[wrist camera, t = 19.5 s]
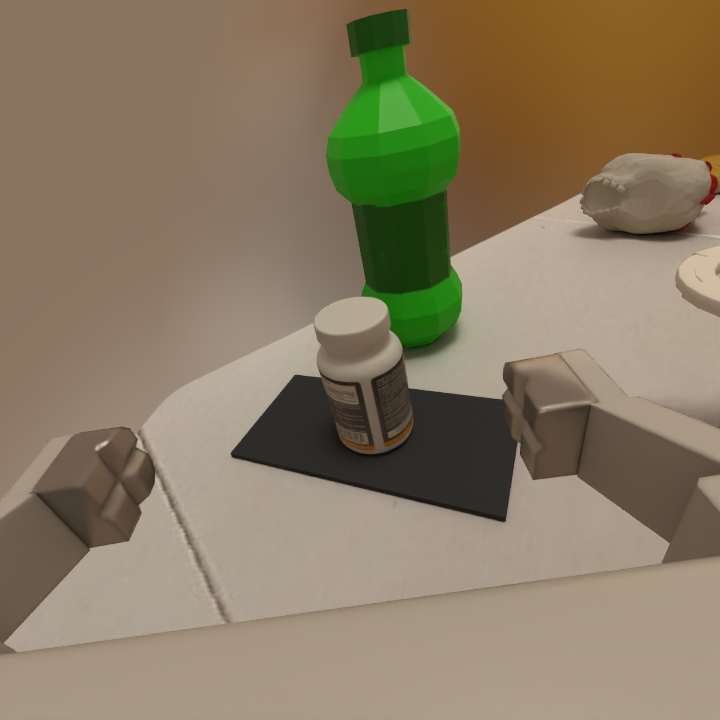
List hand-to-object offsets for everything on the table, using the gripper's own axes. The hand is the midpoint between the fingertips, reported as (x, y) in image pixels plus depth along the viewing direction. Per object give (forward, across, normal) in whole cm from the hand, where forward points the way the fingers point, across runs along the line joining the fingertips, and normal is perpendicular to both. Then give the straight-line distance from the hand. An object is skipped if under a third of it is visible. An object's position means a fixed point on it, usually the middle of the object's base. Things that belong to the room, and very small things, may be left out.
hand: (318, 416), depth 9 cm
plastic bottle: (+29, -5, +16) cm, 34 cm away
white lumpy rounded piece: (+44, -38, +16) cm, 61 cm away
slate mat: (+16, 0, +16) cm, 23 cm away
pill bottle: (+16, 0, +16) cm, 22 cm away
